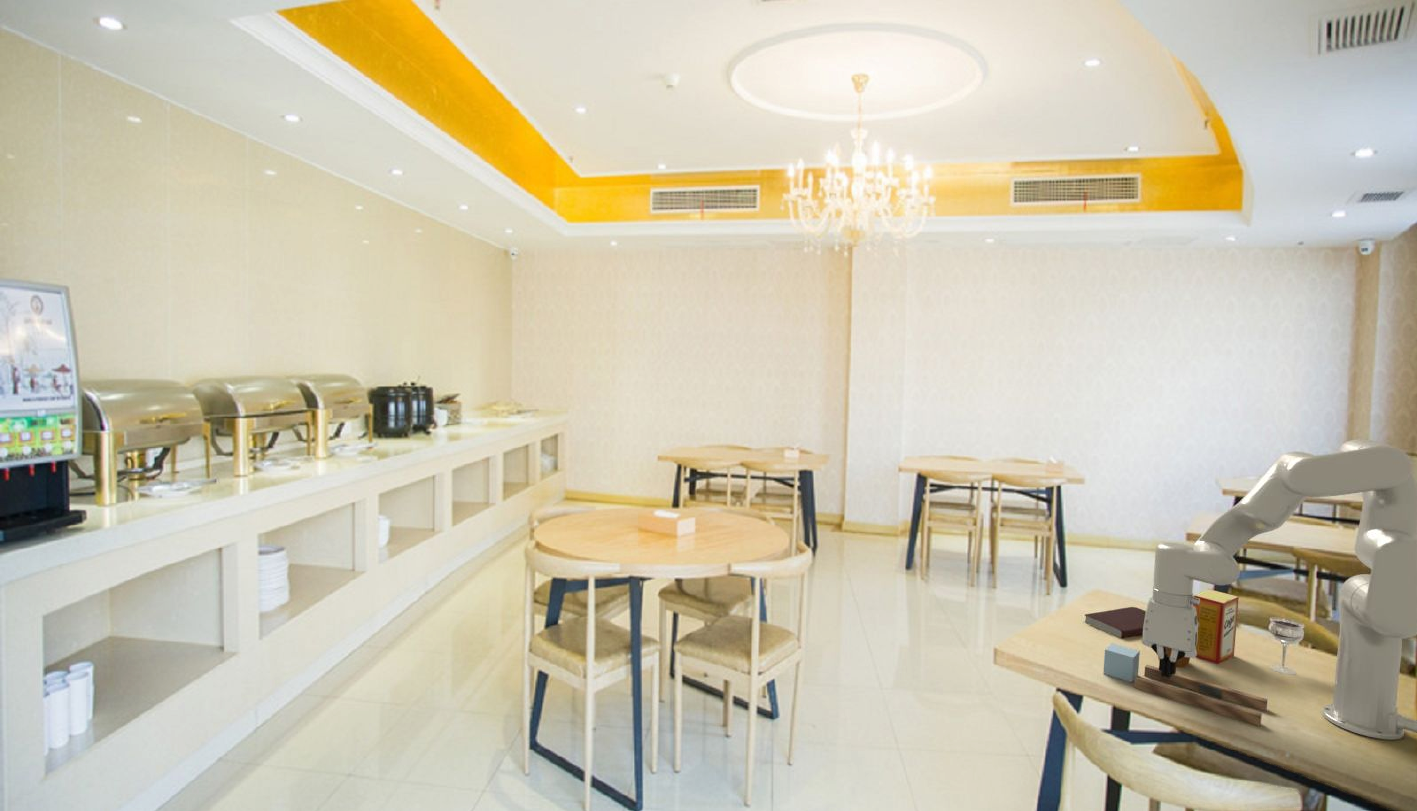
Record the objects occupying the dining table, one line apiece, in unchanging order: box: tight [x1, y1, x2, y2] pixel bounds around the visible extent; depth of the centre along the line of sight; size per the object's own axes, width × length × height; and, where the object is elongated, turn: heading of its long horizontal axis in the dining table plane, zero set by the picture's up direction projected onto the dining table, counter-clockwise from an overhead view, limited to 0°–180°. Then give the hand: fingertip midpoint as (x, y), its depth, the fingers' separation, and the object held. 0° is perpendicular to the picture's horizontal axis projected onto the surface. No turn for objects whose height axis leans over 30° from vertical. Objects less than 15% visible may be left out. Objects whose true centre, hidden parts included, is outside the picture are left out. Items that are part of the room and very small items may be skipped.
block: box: [1102, 643, 1141, 683], centre depth 169 cm, size 6×6×6 cm
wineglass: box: [1268, 616, 1305, 675], centre depth 173 cm, size 7×7×12 cm
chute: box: [1133, 664, 1269, 727], centre depth 158 cm, size 23×10×2 cm, turn 45°
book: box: [1084, 606, 1146, 639], centre depth 199 cm, size 12×19×3 cm, turn 110°
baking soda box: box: [1192, 588, 1240, 665], centre depth 181 cm, size 10×6×16 cm
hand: (1166, 675), depth 162 cm, fingers closed
